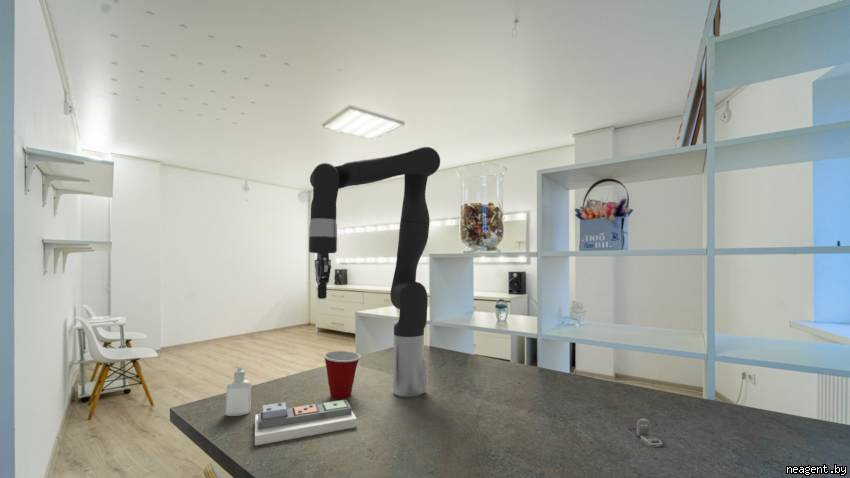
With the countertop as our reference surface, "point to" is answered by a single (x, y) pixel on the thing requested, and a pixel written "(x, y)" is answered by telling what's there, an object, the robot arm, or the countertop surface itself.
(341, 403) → the key one
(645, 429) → the strap clip
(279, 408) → the key two
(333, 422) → the keypad
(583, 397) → the countertop surface
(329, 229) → the robot arm
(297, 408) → the key three
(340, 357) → the plastic cup
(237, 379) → the eye dropper bottle
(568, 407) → the countertop surface
